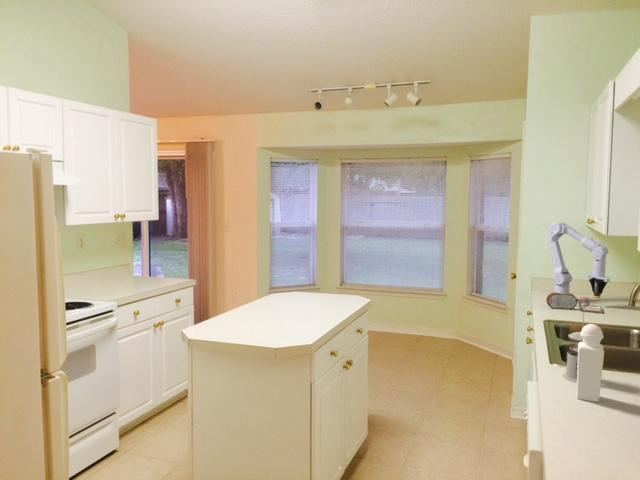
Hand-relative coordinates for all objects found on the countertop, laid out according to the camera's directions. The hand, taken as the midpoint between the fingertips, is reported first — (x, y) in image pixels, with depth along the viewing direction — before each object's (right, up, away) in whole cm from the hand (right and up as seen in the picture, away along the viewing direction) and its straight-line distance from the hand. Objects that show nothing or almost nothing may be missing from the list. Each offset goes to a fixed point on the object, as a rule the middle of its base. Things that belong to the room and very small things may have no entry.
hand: (597, 293), depth 273 cm
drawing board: (-7, -8, -8) cm, 14 cm away
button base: (-6, -7, +1) cm, 10 cm away
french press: (-64, -17, -107) cm, 126 cm away
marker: (0, -2, 0) cm, 2 cm away
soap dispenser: (-70, -18, -123) cm, 143 cm away
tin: (-22, -8, -6) cm, 24 cm away
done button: (-6, -5, +1) cm, 8 cm away
